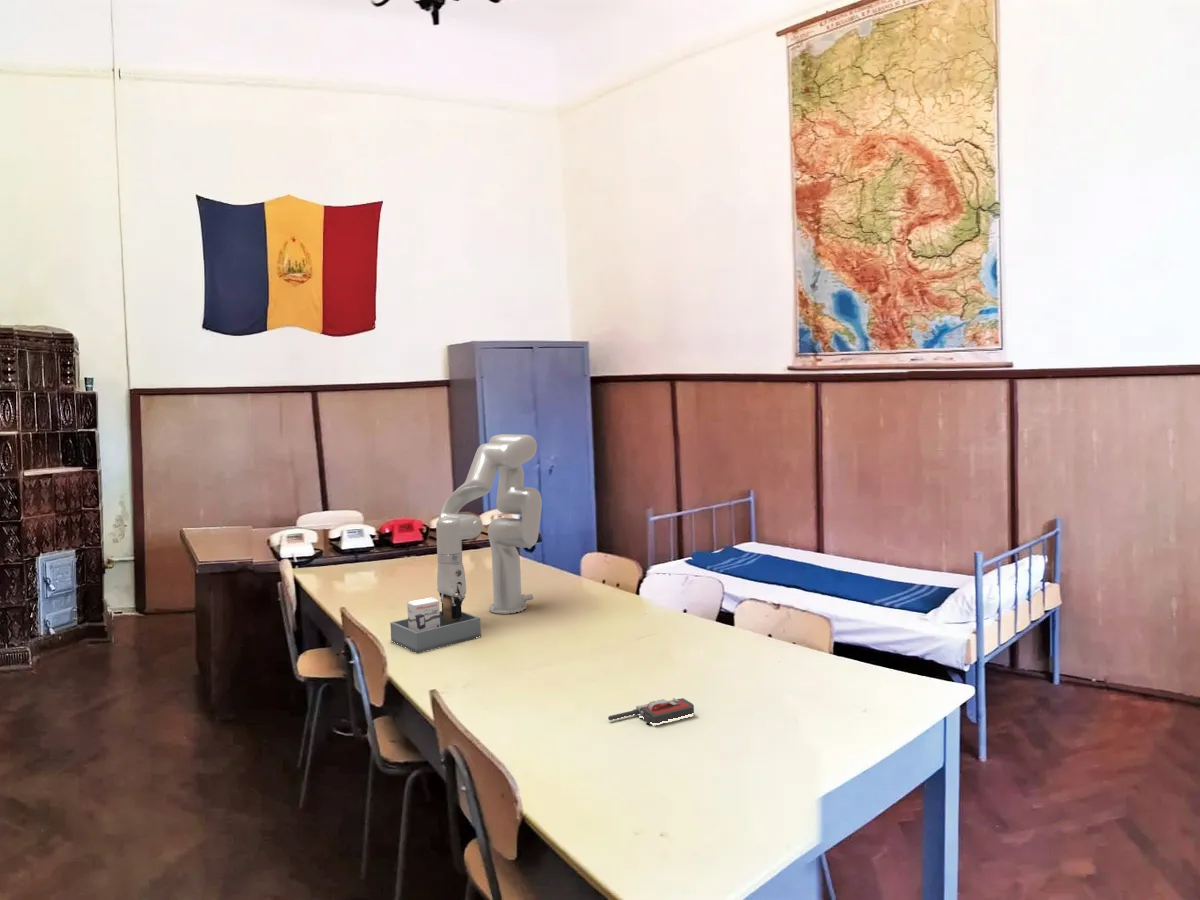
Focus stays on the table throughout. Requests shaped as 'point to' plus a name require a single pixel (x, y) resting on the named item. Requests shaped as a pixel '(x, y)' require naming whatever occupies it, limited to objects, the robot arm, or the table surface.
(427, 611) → the ink box
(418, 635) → the tote
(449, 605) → the walnut cylinder
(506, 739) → the table surface
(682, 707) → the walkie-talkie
